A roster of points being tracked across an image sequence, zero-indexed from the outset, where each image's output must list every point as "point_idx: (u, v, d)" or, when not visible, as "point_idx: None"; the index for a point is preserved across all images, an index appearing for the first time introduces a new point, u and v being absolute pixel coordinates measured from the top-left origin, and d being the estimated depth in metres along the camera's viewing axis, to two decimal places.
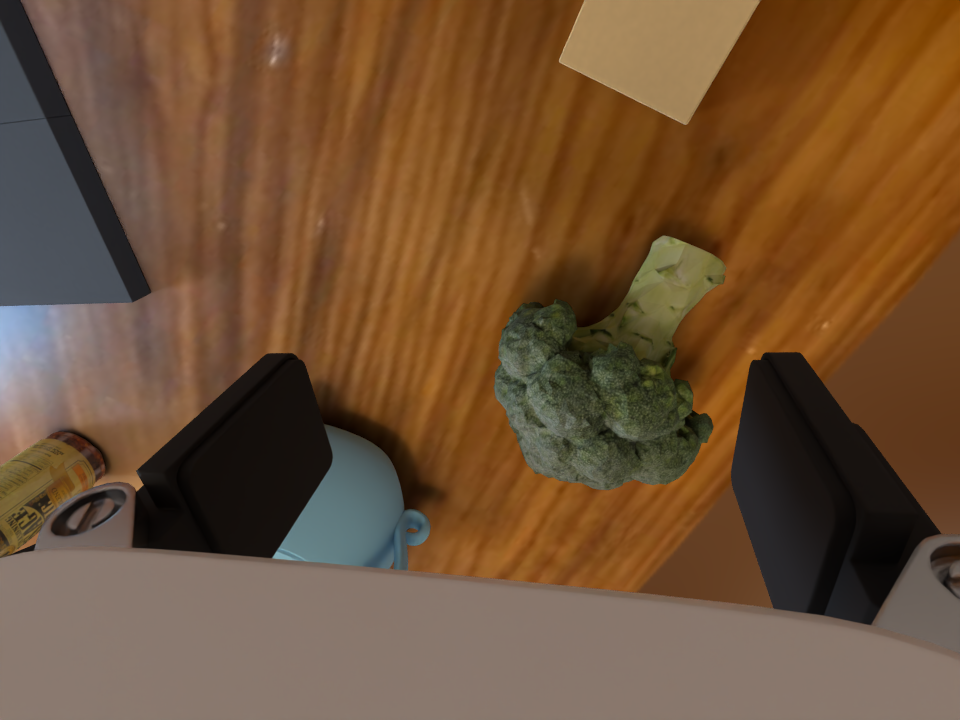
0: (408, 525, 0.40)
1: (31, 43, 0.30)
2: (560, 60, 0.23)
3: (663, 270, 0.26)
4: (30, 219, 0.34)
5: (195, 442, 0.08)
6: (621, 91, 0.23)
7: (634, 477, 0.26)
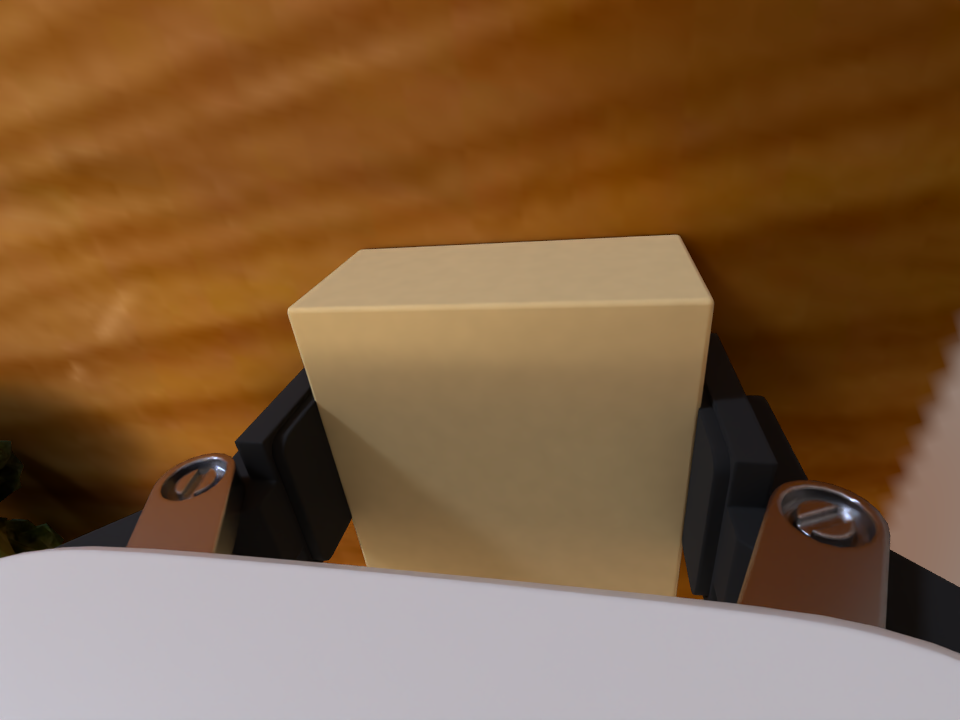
0: None
1: None
2: (290, 312, 0.08)
3: None
4: None
5: (285, 416, 0.09)
6: (335, 458, 0.10)
7: None
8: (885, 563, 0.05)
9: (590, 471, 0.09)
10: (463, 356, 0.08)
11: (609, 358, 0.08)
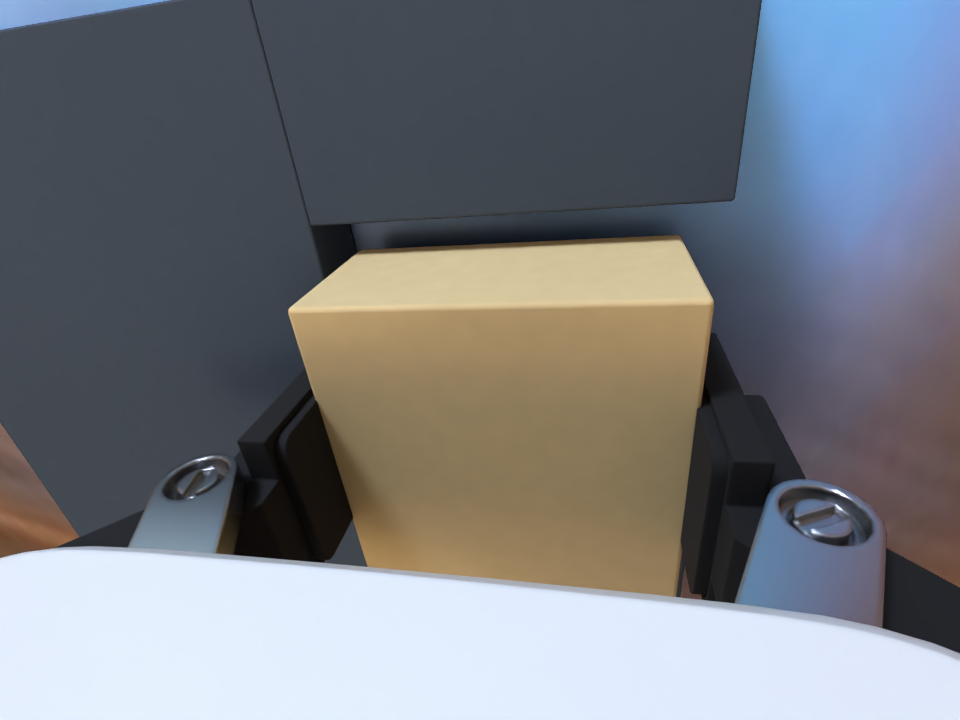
0: None
1: None
2: (291, 312, 0.08)
3: None
4: None
5: (287, 415, 0.09)
6: (335, 458, 0.10)
7: None
8: (882, 562, 0.05)
9: (590, 471, 0.09)
10: (464, 356, 0.08)
11: (609, 358, 0.08)
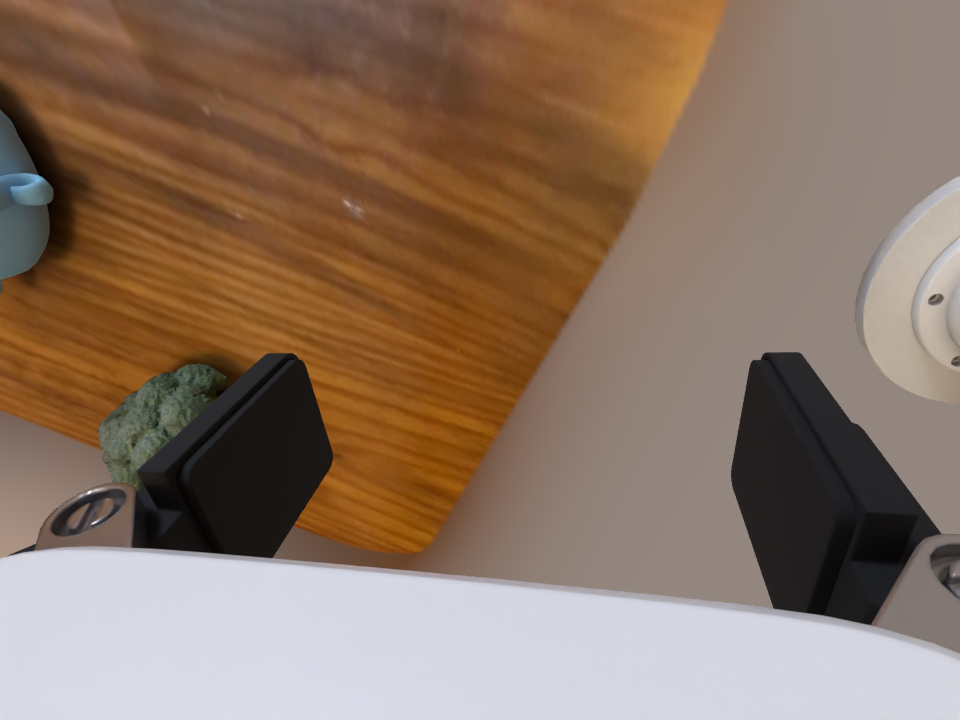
0: None
1: None
2: None
3: None
4: None
5: (195, 442, 0.08)
6: None
7: None
8: None
9: None
10: None
11: None
